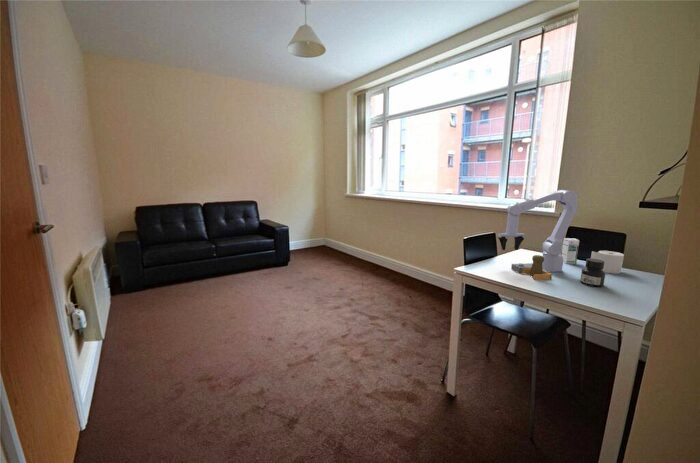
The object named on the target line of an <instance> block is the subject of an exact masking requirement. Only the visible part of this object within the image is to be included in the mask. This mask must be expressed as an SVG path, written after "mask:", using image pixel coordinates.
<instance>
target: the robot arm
mask: <svg viewBox="0 0 700 463" xmlns="http://www.w3.org/2000/svg"><path fill="white" fill-rule="evenodd" d="M578 199H579V197H578V195H577V193H575V191H573V190H567V189H566V190H565V189H558V190H555V191H553V192H549V193H547V194H545V195H543V196H539V197H537V198H534V199H533V198H525V199H524V200H521V201H516V202H515V203H511V204H509V205H508V206H507V208H506V212H507V218H506V219H507V220H506V227H505V232H502V233H498V234H497V238H498V241H499V242H500V246H501V250H502V251H505V250H506V245H507V242H508V238H514V239H513V240H514V246H513V248H514V250H516V251H517V250H519V248H520V246H521V243H523V241H524V240H525V237H526V236H525V235H526V233H523V232H518V230H519V221H520V215H521V214H522V213H525V212H528V211H530V210H533V209H535V208H536V206H538V205H542V204H544V203H547V202H551V201H557V202H558V203H560V204H561V206H562V208H563V210H562V212H561V215H560V216H559V218H558V221H557V222H556V225H555V226H554V228H553V230H552V233H551V234H550V236H548V237H547V239H545V240H544V242H542V243H541V244H542V245H541V248H542V250H543V251H542V256H543V257H544V262H543V263H542V267H543V270H544V271H546V272H548V273H553V272H554V273H555V272H558V273H559V272H564V270H563V265H564V262H563V257H562V248H563V239H564V236H565V234H566V232H567V230H568V228H569V226H570V224H571V223H572V221H573V218H574V216H575V214H576V212H577V211H578Z"/></svg>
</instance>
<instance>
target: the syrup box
mask: <svg viewBox="0 0 700 463" xmlns="http://www.w3.org/2000/svg"><path fill="white" fill-rule="evenodd" d="M562 242H563V245H562V251H561V255H562V257H563V264H573V265H575V264H577V260H578V252H579V247H580V246H579V245H580V240H579V239H578V238H569V237H566V238H565V237H563V240H562Z"/></svg>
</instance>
